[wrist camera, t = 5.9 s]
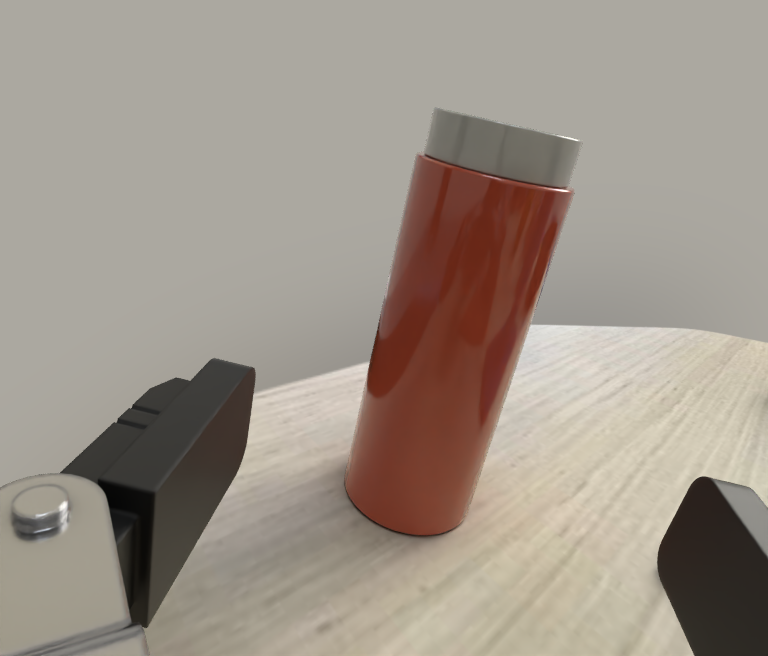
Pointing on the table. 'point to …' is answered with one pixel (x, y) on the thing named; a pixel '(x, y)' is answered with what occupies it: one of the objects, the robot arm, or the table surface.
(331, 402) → the table surface
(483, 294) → the terracotta shaker
